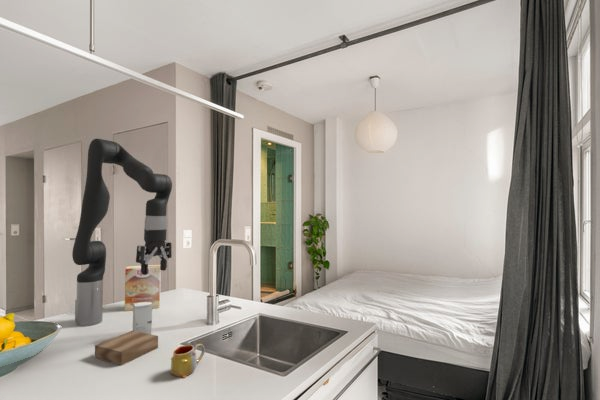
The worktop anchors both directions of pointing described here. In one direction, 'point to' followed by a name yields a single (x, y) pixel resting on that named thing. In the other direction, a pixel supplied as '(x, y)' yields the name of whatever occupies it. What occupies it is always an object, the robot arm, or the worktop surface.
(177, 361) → the mug
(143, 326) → the skincare box
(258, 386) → the worktop surface
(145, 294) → the coffeecake box
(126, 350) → the base
